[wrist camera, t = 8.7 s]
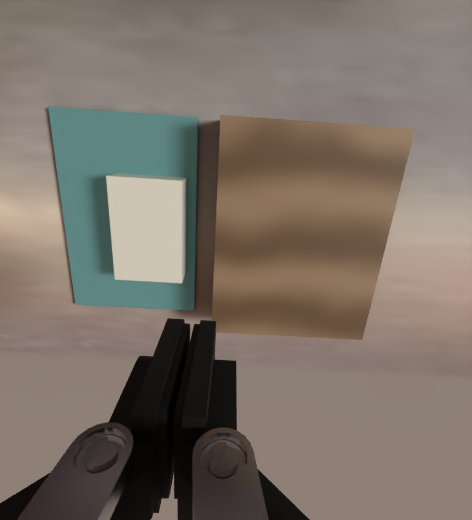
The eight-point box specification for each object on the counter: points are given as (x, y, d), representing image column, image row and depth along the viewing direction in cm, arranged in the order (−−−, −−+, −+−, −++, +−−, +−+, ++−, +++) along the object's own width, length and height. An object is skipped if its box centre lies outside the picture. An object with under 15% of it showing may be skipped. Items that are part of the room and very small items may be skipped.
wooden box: (222, 119, 25) (220, 115, 21) (388, 131, 26) (414, 129, 22) (213, 309, 31) (211, 332, 28) (347, 316, 32) (362, 339, 28)
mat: (50, 107, 25) (48, 106, 24) (198, 118, 25) (197, 117, 25) (77, 302, 31) (75, 304, 31) (194, 308, 31) (194, 310, 31)
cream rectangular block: (182, 180, 24) (186, 177, 26) (106, 175, 24) (117, 173, 26) (181, 283, 27) (185, 272, 30) (114, 279, 27) (123, 269, 29)
